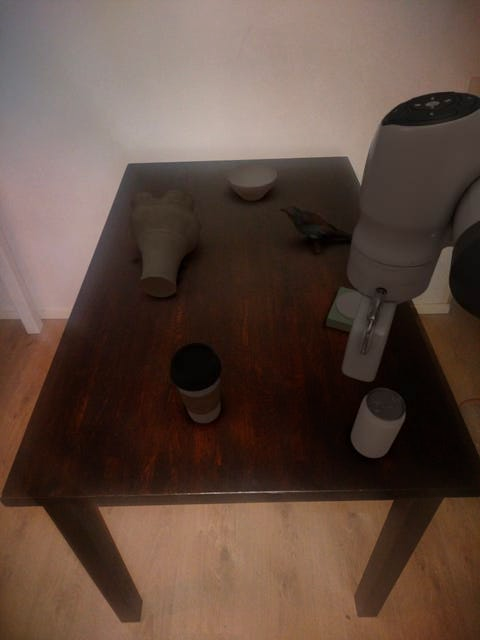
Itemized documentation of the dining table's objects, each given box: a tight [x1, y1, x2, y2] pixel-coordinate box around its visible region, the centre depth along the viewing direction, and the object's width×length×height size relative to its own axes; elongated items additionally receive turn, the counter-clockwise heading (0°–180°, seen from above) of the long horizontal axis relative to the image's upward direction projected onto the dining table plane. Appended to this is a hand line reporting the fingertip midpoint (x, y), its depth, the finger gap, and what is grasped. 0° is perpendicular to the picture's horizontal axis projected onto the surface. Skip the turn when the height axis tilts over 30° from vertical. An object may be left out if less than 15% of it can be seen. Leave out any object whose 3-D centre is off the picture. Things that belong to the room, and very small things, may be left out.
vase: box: [129, 189, 203, 298], centre depth 93 cm, size 22×22×28 cm
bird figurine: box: [279, 205, 353, 254], centre depth 101 cm, size 13×10×20 cm
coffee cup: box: [169, 342, 223, 424], centre depth 66 cm, size 8×8×15 cm
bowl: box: [226, 162, 278, 202], centre depth 123 cm, size 16×16×7 cm
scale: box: [325, 286, 362, 333], centre depth 84 cm, size 11×11×3 cm
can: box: [350, 387, 407, 459], centre depth 61 cm, size 6×6×12 cm
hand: (368, 345), depth 51 cm, fingers open, 8 cm apart
